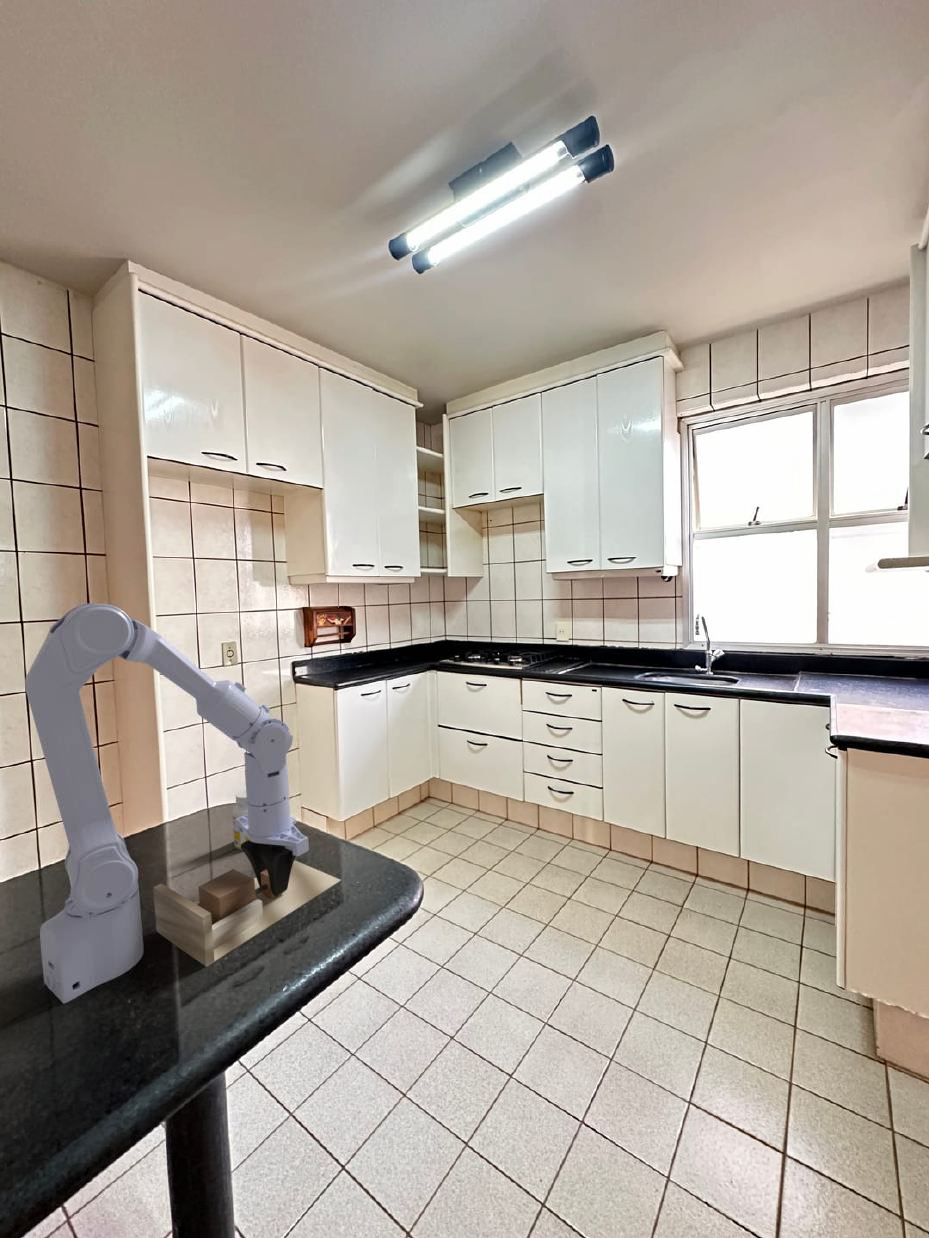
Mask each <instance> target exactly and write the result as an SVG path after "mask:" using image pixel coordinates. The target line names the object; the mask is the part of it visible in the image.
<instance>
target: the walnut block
mask: <svg viewBox="0 0 929 1238" xmlns="http://www.w3.org/2000/svg"><path fill="white" fill-rule="evenodd" d="M260 875H261V887H259V888H257V889H256V890H255V881H254V877H251V876H248V875H246V874H245V873H243V872H240V871H238V870H236V869H234V868H233V869H231V870H229V871H226V872H224V873H222V874H220V875H218V876H217V877H214V878H212V879H210V880H208V881H207V882H205V883H203V884H201V885H198V896H199V897H198V899H199V901H200V907H201V908H203V909H205V910H207V911H208V912H210V913H211V920H212V925H213V924H215V923H217V922H219V921H220V920H222V919H224V918H225V917H227V916H229V915H231V914H232V913H234V912H236V911H238V910H239V909H241V908H243V907H244V906H246V905H248V904H250V903H251V902H253V901H255V900H256V896H255V895H257V894H259V893H261V892H262V894H263V895H265V896H267V897H269V898H271V899H273V898H274V897H276V896H275V895H273V894H272V891H271V887H270V881H269V875H268V871H267V869H266V870H264V871H263V872H261V873H260ZM285 891H286V890H285ZM285 891H284V892H285ZM282 893H283V892H282ZM280 894H281V893H280ZM277 896H278V895H277Z"/></svg>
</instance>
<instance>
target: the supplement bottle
mask: <svg viewBox="0 0 929 1238" xmlns="http://www.w3.org/2000/svg"><path fill="white" fill-rule="evenodd" d="M235 803H236V805H235V806H234V807H233V809H232V827H233V843H234V844H233V845H234V848H235V849H236V850H239V851H240V850H241V851H242V849H241V844H242V843H244V842H246V841H248V840H249V839H248V838H247V836H246V835H245V833H244V832H241V833H239V832H237V831H236V823H235V819H237V818H239V817H242V816H244V815H246V814H247V815H248V811H247V796H246V789H243V790H240V791H238V792H237V793H236V794H235Z"/></svg>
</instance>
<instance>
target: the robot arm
mask: <svg viewBox="0 0 929 1238" xmlns="http://www.w3.org/2000/svg"><path fill="white" fill-rule="evenodd" d="M48 630H49V631H48V633H47V636H46V638H45V640H44V641H43V643H42V646H41V648H40V649H39V651H38V653H37V654H36V656H35V659H34V660H33V662H32V665H31V666H30V668H29V670H28V673H27V674H26V676H25V679H24V688H25V692H26V696H27V700H28V703H29V706H30V710H31V714H32V717H33V721H34V725H35V729H36V731H37V735H38V739H39V742H40V746H41V749H42V753H43V757H44V760H45V764H46V766H47V771H48V775H49V778H50V782H51V785H52V789H53V793H54V797H55V800H56V802H57V806H58V810H59V814H60V816H61V817H60V818H61V819H62V820H61V821H62V825H63V828H64V832H65V834H66V839H67V843H68V848H67V853H66V855H65V860H64V868H65V871H66V873H67V875H68V880H69V884H70V885H69V886H70V893H69V895H68V898H66V900H65V902H64V904H65V905H64V908H63V909H62V910H61V911H59V913H58V914H56V915H55V916H53V917H52V918H50V919H48V920H46V921H45V922H43V923H42V924H41V925H40V929H39V941H40V952H41V953H40V954H41V963H42V964H41V965H42V974H43V982H44V984H45V985H46V986H47V988H48V989H49V990H50V991H51V992H53V994H54V995H55V996H56V997H57V998H58V999H59V1000H60V1002H62V1004H64V1005H65V1004H66V1003H69V1002H70V1001H72V1000H74V999H76V998H77V997H79V996H81V995H83V994H85V993H87V992H88V991H90V990H92V989H94V988H96V987H97V986H99V985H102V984H105V983H107V982H109V981H111V980H114V979H116V978H117V977H120V976H121V975H123V974H125V973H126V972H128V971H130V970H131V969H132V968H133V967H134V966H136V965H137V964H138V963H139V962H140V960H141V958H142V957H143V955H144V951H145V950H144V949H145V948H144V940H143V928H142V926H143V925H142V915H141V913H142V912H141V902H140V901H141V900H140V891H139V890H140V889H139V888H140V887H139V881H138V879H139V870H138V867H137V864H136V863H135V861H134V860H133V859H132V857H131V855H130V854H129V851H128V849H127V844H126V841H125V838H123V837H122V835H121V834H120V833H118V832H117V830H116V825H115V823H114V821H113V817H112V813H111V810H110V805H109V802H108V798H107V795H106V790H105V786H104V783H103V782H104V781H103V779H102V776H101V772H100V768H99V763H98V760H97V756H96V753H95V749H94V748H95V747H94V744H93V742H92V738H91V734H90V730H89V726H88V722H87V719H86V714H85V710H84V707H83V704H82V703H83V702H82V700H81V696H80V690H81V689H82V688H83V687H84V686H85V684H87V682H88V681H89V680H90V679H91V678H92V676H93V675H94V674H95V673H96V672H97V671H98V669H99V668H101V667H103V666H104V665H105V664H107V663H109V662H111V661H113V660H114V659H116V658H117V657H118V658H121V659H123V660H124V661H127V662H133V663H141V664H146V665H148V666H149V667H151V668H152V669H153V670H155V671H157V672H158V673H159V674H160V675H162V676H163V677H165V678H166V679H167V680H169V681H170V682H172V683H173V684H175V685H176V686H178V687H179V688H180V689H181V690H183V691H184V692H186V693H187V694H188V695H190V696H191V697H193V698H194V699H195V702H196V712H197V715H198V716H200V717H201V718H203V720H205V721H206V722H208V723H209V724H211V726H213V727H215V728H216V729H218V730H219V731H220V732H221V733H222V734H224V735H225V736H227V737H228V738H229V739H231V740H232V741H235V742H236V744H237V746H238V747H239V748H240V749H243V750H245V752H243V754H244V756H243V757H244V776H245V777H244V781H245V790H246V796H247V811H248V815H247V814H246V815H244V816H242V817H239V818H237V819H235V823H236V831H237V832H239V833H241V832H244V833H245V835H246V836H247V838H248V839H249V840H248V841H246V842H244V843H242V844H241V849H242V850H241V851H242V852H243V853H244V854H245V856H246V858H247V859H248V861H249V862H250V865H251V867H252V869H253V871H254V875H255V878H257V881H258V884H259V886H260V887H261V875H260V873H261V872H263V871H264V870H266V869H267V871H268V875H269V881H270V887H271V891H272V894H273V895H275V896H277V895H279V894H280V893H282V892H284V891H285V890H287V888H288V883H289V878H290V873H291V869H292V865H293V862H294V860H295V859H296V858H297V857H299V856H301V855H303V854H305V853H307V852H308V851H310V849H309V848H310V847H309V837H308V836H306V835H304V834H303V833H301V831H300V830H299V828H297V827H296V826H295V825H296V824H297V818H296V817H294V816H291V808H290V792H289V791H290V789H289V774H288V763H287V762H288V761H287V754H288V752H289V751H290V749H291V747H292V745H293V742H294V741H293V740H294V739H293V738H294V736H293V735H292V734H291V733H290V731H289V730H290V729H289V726H288V725H287V724H286V723H285V722H283V721H282V720H280V719H278V718H276V717H274V716H271V715H270V714H269V713H270V711H271V709H270V708H269V707H268V706H267V705H264V704H262V705H260V704H259V703H258V702H256V701H255V700H254V699H253V698H252V697H250V696H249V694H247V693H246V690H247V687H246V686H245V685H243V684H242V683H241V682H237V681H235V683H233V682H232V681H231V680H218V681H215V680H213V679H212V678H211V677H210V676H209V675H208V674H206V672H204V671H203V670H202V669H200V668H199V667H198V666H197V665H196V664H194V663H193V662H192V661H191V660H190V659H189V658H188V657H187V656H185V654H183V653H182V652H181V651H180V650H179V649H177V648H176V647H175V646H174V645H173V644H171V642H169V641H168V640H167V639H165V638H164V637H163V636H162V635H161V634H159V633H158V632H156V631H155V630H153V629H151V628H150V627H149V626H147V625H146V624H143V622H141V621H139V620H137V619H133V618H130V616H129V615H128V614H127V613H126V612H125V611H123V610H122V609H121V608H119V607H117V606H114V605H111V604H106V603H84V604H79V605H77V606H74V607H72V608H71V609H70V610H68V611H67V612H66V613H65V614H64V615H63V616H62V617H61V618H59V620H57V621H56V622H55V623H54V624H52V626H51V627H50V629H48ZM295 861H296V860H295ZM75 984H77V985H76V986H74V985H75ZM73 986H74V987H73Z"/></svg>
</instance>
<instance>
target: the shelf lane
mask: <svg viewBox="0 0 929 1238" xmlns="http://www.w3.org/2000/svg"><path fill="white" fill-rule="evenodd" d="M253 879H254V881H255V890H256V889H257V888H259V887H260V886H259V884H258V881H257V878H256V877H253ZM340 881H342V879H339V878H338V877H336V876H333V875H330V874H328V873H325V872H324V871H321V870H319V869H316V868H314V867H311V866H309V865H307V864H304V863H303V862H299V861H297V860H294V862H293V865H292V869H291V873H290V878H289V883H288V888H287V890H286V891H285V892H283V893H281V894H279V895H278V896H276V897H274V898H273V899H271V898H269V897H267V896H265V895H263V894H262V892H261V893H259V894H257V895H255V896H256V900H255V901H253V902H251V903H250V904H248V905H246V906H244V907H243V908H241V909H239V910H238V911H236V912H234V913H232V914H231V915H229V916H227V917H225V918H224V919H222V920H220V921H219V922H217V923H215V924H213V925H212V920H211V913H210V912H208V911H207V910H205V909H203V908H201V907H200V901H199V898H198V899H196V900H195V901H191V900H190V899H188V898H186V897H185V896H184V895H181V894H180V893H178V892H176V891H175V890H173V889H171V888H170V887H168V886H166V885H164V884H163V883H159V884H157V885H155V886H153V890H152V891H153V901H154V911H155V914H154V915H155V924H156V926H155V927H156V933H158V934H160V935H161V936H162V937H164V938H165V939H167V940H168V941H169V942H171V943H172V944H174V945H175V946H177V947H178V948H179V949H181V950H182V951H183V952H185V953H186V954H188V955H189V956H191V958H193V959H195V960H196V961H198V962H199V963H200V964H202V965H203V966H204V967H209V966H210V965H212V964H213V963H215V962H216V961H218V960H219V959H221V958H223V957H224V956H226V955H227V954H228V953H230V952H232V951H233V950H235V949H236V948H238V947H240V946H241V945H243V944H244V943H247V942H248V941H249V940H251V939H252V938H253V937H255V936H257V935H258V934H260V933H262V932H263V931H264V930H266V929H267V928H269V927H271V926H273V925H274V924H275V923H277V922H279V921H280V920H282V919H284V918H285V917H286V916H287V915H289V914H291V913H292V912H294V911H296V910H297V909H299V908H300V907H302V906H303V905H305V904H307V903H308V902H309V901H311V900H313V899H315V897H317V896H319V895H320V894H323V892H325V891H327V890H328V889H330V888H331V887H333V886H334V885H336V884H337V883H339V882H340Z"/></svg>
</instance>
